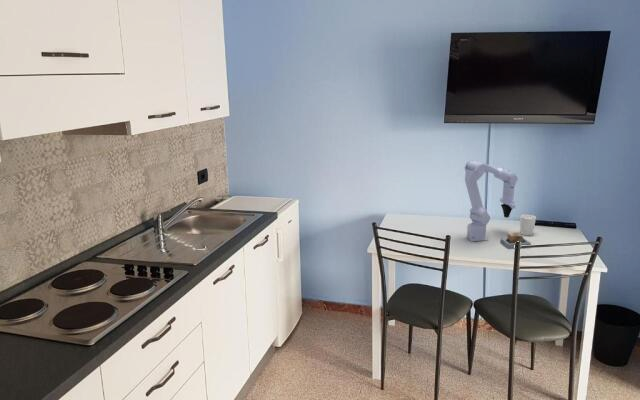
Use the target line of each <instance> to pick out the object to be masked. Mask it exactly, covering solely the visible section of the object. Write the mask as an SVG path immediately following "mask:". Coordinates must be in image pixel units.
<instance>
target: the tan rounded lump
mask: <svg viewBox="0 0 640 400" xmlns="http://www.w3.org/2000/svg"><path fill="white" fill-rule="evenodd" d="M523 238H524V235H522V234H521V233H520V232H509V233H507V237H506V239H505V240H506V241H507V242H508V243H509V244H512V243H515V242H517V241H519V242H521V243H524V242H523V241H522V239H523Z"/></svg>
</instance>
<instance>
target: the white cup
mask: <svg viewBox="0 0 640 400" xmlns="http://www.w3.org/2000/svg"><path fill="white" fill-rule="evenodd" d="M536 220H537V217H536V216H535V215H532V214H521V215H520V220H519V229H520V231H519V234H521V235H522V236H532V235H534V230H535V224H536Z"/></svg>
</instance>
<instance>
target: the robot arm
mask: <svg viewBox="0 0 640 400" xmlns="http://www.w3.org/2000/svg"><path fill="white" fill-rule="evenodd" d="M463 168H464V171H465V175H464V182H465V186H466V189H467V193H468V197H469V201H470V205H471V208H470V210H469V212H470V213H469V218H470V220H471V223H468V224H467V227H466V229H467V230H466V238H467V239H469V240H470V241H471V242H481V241H484V242H485V241H489V239H488V238H487V236H486V235H487V234H486V233H487V225H488V224H489V222H490V220H491V216H490V214H489V213H488V210H486V209H487V208H485V207H484V206H483V203H482V197H481V194H480V191H479V185H478V181H479V180H480V179H481V177H483V176H484V174H485V173H490V174H493V176H494V178H496V179H499V180H501V181H502V182H503V186H502V187H503V188H502V197H500V198H499V201H500V202H501V203H502V204H501V205H500V206H501V208H502V211H503V218H506V219H507V218H510V215H511V212H512V211H513V209H516V204H515V203H516V201H515V200H514V194H515V187H516V184H517V182H518V180H519V178H518V176H517V174H516V173H514V172H510V171H511V170H506V169H505V168H504V167H494V166H492V165H490V164H488V163H484V162H480V161H477V160H476V161H475V160H472V159H470V160H467V162H466V164H465V165H464V167H463Z"/></svg>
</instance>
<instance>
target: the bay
mask: <svg viewBox="0 0 640 400" xmlns="http://www.w3.org/2000/svg"><path fill="white" fill-rule="evenodd" d="M499 241H500V244H502V245H503V246H504V247H505V248H507V249H509V250H512V249H514V245H515V243H512V244H509V243H508V242H507V241H506V239H504V237H501V238H500V239H499ZM522 241H523V242H524V243H521V245H532V243H531V242H530V241H528V240H527V239H526V238H525V237H523V239H522ZM514 250H515V249H514Z"/></svg>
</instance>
